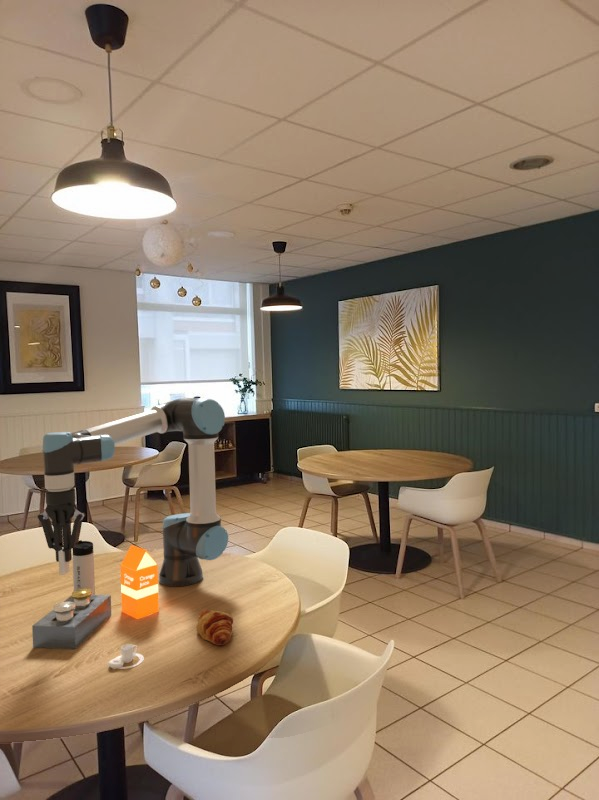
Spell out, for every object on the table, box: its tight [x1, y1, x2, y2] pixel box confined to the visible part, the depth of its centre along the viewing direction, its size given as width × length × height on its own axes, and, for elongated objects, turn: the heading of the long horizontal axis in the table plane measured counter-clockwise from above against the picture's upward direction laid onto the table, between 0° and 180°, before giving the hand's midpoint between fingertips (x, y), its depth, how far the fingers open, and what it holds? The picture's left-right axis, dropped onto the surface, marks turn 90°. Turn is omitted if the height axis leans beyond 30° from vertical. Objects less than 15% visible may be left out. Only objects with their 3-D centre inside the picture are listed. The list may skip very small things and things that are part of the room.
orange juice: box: [120, 544, 160, 620], centre depth 176 cm, size 8×9×20 cm
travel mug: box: [72, 539, 96, 595], centre depth 182 cm, size 6×7×20 cm
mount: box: [31, 594, 112, 650], centre depth 164 cm, size 12×22×6 cm, turn 174°
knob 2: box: [71, 588, 92, 606], centre depth 169 cm, size 6×6×8 cm
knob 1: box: [53, 601, 75, 621], centre depth 159 cm, size 6×6×8 cm
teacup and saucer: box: [107, 643, 145, 670], centre depth 145 cm, size 9×8×4 cm
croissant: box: [195, 609, 234, 646], centre depth 160 cm, size 21×10×8 cm, turn 23°
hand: (64, 572), depth 158 cm, fingers closed
